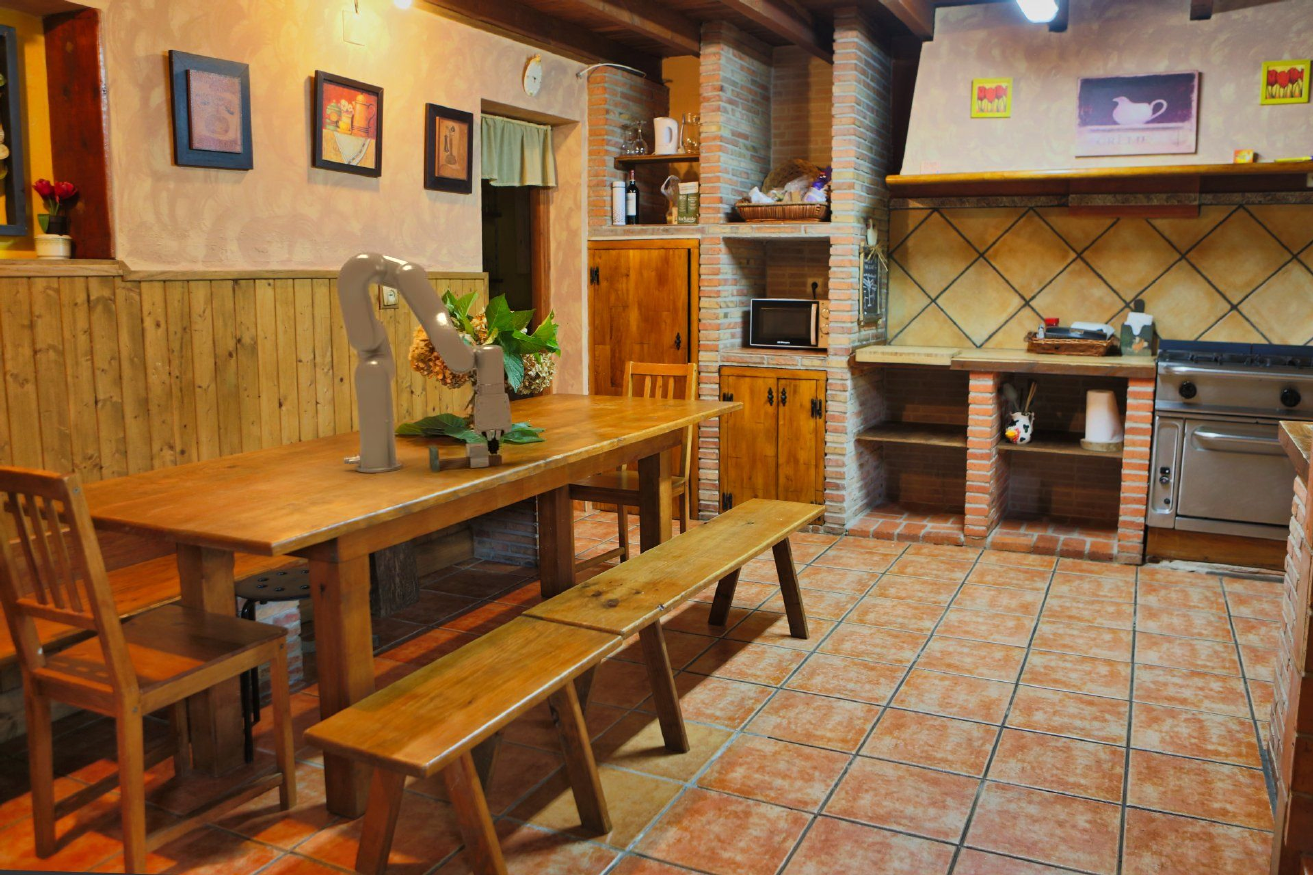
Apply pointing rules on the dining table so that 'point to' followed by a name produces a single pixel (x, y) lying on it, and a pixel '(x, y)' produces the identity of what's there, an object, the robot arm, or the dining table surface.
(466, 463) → the rail
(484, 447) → the keeper
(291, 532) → the dining table surface
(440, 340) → the robot arm
